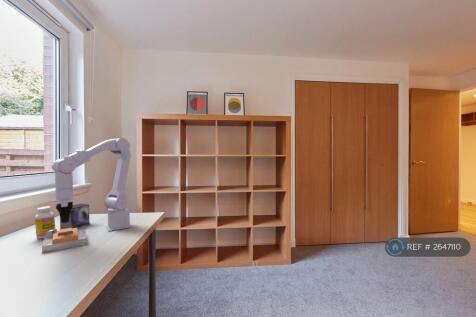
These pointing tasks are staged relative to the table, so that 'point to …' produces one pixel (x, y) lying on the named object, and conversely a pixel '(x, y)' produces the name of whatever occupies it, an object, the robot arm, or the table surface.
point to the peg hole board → (48, 245)
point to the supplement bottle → (44, 221)
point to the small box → (79, 215)
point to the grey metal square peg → (65, 224)
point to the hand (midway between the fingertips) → (65, 221)
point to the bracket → (65, 235)
